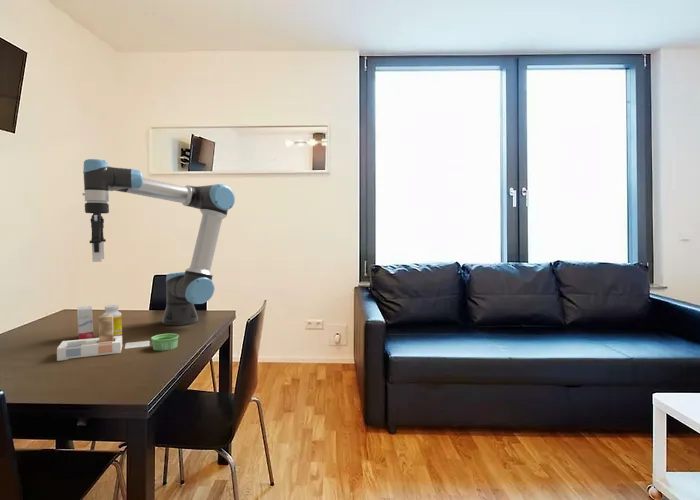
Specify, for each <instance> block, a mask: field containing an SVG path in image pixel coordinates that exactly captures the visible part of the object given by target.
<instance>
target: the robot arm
mask: <svg viewBox="0 0 700 500" xmlns="http://www.w3.org/2000/svg"><path fill="white" fill-rule="evenodd" d="M82 169H83V171H82V173H83V185H84V189H83V190H84V192H82V194H81V195H82V196H84V201H85V203H84V212H85V214H92V215H91V218H90V224H91V225H90V227H91V238H90V239H91V240H89V244H91V253H92V254H91V255H92V263H100V262H102V260H105V246H104V243H105V242H106V241H107V240H106V238H104V223H105V219H104V217H103V216H102V214H109V213H110V207H109V206H110V205H109V203H108V202H109V201H110V200H109V198H110V197H109V194H110V193H109V192H113V191H115V192H120V193H128V194H133V195H137V196H143V197H149V198H153V199H158V200H163V201H164V200H165V201H170V202H176V203H180V204H182V206H184V207H190V208H193V209H197V210H199V211H200V213H201V214H202V216H201V221H200V224H199V229H198V232H197V237H196V241H195V245H194V250H193V254H192V258H191V263H190V265H189V267H188V268H187V269H185V271H184V272H183V271H182V272H172V273H171V272H170V273H167V275H166V278H165V285H166V286H165V289H166V291H165V292H166V293H165V296H166V307H165V309H164V313H163V317H162V324H163V325H166V326H184V325H191V324H195V323H198V321H199V319H198V318H199V316H198V314H197V313H198V312H197V310H196V307H195V305H203V304H205V303H207V302H208V301H209V300H211V298H212V297H213V295H214V293H215V284H214V282H213V278H214V277H213V273H212V272H211V269H212V265H213V261H214V255H215V252H216V247H217V245H218V244H217V242H218V239H219V235H220V231H221V225H222V222H223V221H222V220H224V219H225V218H227V215H228V212H229V210H231V209H232V208H233V207H234V205H235V201H236V197H235V194H234V192H233V190H232V188H231V187H229V186H228V185H226V184H223V183H215V184H209V185H201V186H200V185H199V186H197V185H196V186H195V185H188V184H187V185H185V186H182V185H178V184H173V183H170V182H164V181H160V180H156V179H151V178H145V177H143V173H142V172H141V171H140V169H133V168H122V167H113V166H109V165H108V161H106V160H104V159H97V158H89V159H87V158H86V159H85V160H84V161H83V168H82Z"/></svg>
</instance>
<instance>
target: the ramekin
mask: <svg viewBox="0 0 700 500" xmlns="http://www.w3.org/2000/svg"><path fill="white" fill-rule="evenodd" d="M150 339H151V344H152V350H154V351H161V352H163V351H169V350H174V349H176V348H178V343H179V342H178V341H179V334H177V333H162V334H156V335H154V336H153V335H152V336H151V337H150Z"/></svg>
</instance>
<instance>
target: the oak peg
mask: <svg viewBox="0 0 700 500" xmlns="http://www.w3.org/2000/svg"><path fill="white" fill-rule="evenodd" d="M98 338H99V342H107V341H112V342H113V341H114V336H113V315H103V314H102V315H99V316H98Z"/></svg>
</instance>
